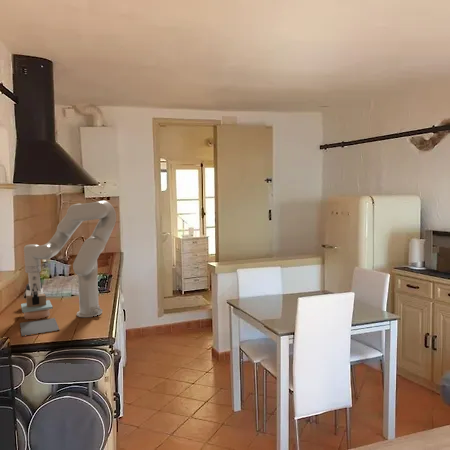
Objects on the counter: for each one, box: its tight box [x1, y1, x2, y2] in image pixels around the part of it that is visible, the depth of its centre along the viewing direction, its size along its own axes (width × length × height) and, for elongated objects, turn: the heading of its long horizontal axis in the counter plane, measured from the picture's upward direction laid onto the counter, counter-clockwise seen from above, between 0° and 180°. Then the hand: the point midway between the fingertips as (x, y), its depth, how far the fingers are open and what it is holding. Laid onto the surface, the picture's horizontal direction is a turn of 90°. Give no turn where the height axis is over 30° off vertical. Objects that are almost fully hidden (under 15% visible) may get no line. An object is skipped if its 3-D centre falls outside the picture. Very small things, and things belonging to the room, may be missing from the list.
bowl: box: [23, 309, 51, 320], centre depth 232 cm, size 12×12×5 cm
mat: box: [19, 317, 60, 337], centre depth 215 cm, size 20×16×1 cm
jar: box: [25, 282, 44, 297], centre depth 252 cm, size 9×8×12 cm
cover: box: [20, 293, 53, 314], centre depth 232 cm, size 14×14×6 cm
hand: (35, 302), depth 232 cm, fingers open, 7 cm apart
